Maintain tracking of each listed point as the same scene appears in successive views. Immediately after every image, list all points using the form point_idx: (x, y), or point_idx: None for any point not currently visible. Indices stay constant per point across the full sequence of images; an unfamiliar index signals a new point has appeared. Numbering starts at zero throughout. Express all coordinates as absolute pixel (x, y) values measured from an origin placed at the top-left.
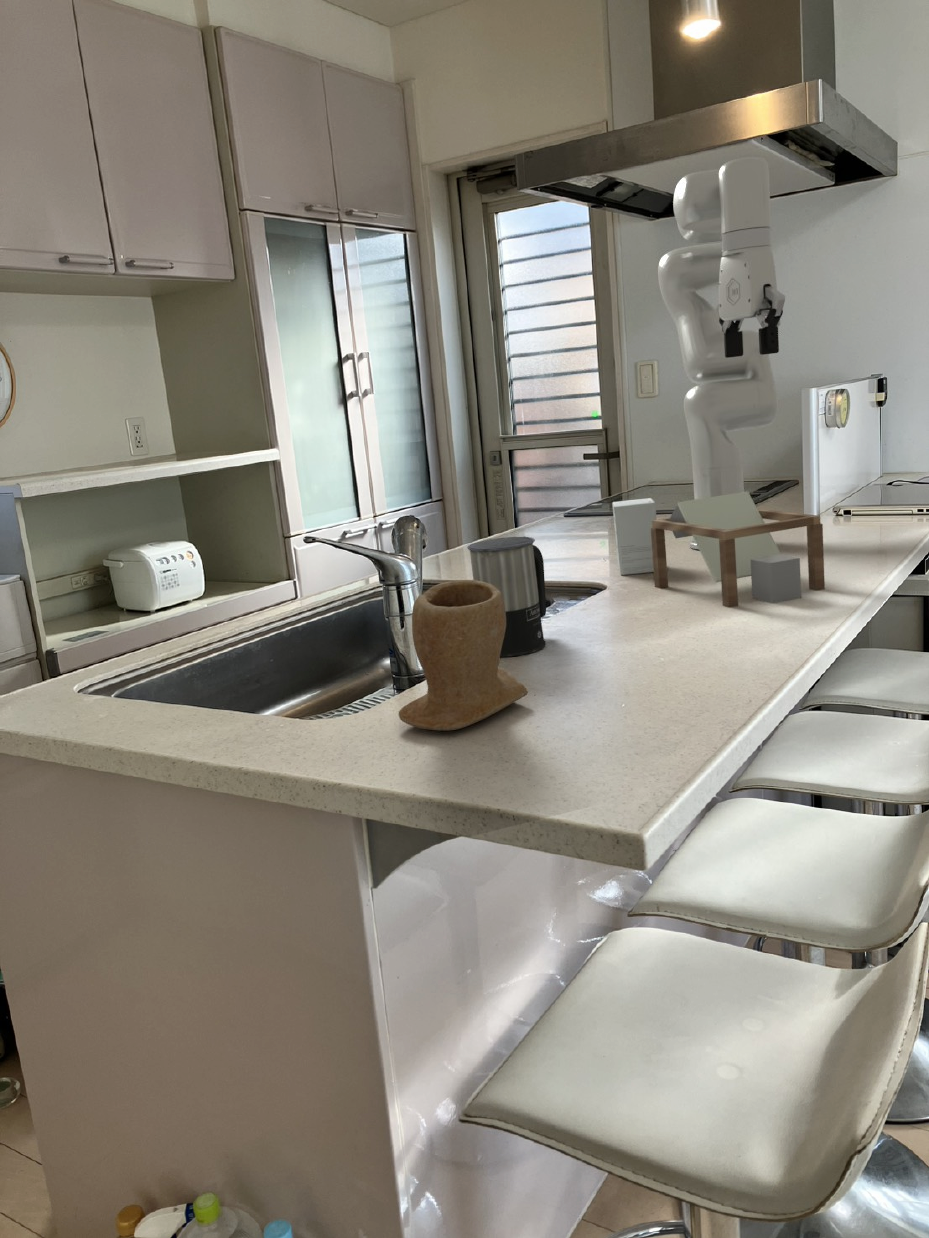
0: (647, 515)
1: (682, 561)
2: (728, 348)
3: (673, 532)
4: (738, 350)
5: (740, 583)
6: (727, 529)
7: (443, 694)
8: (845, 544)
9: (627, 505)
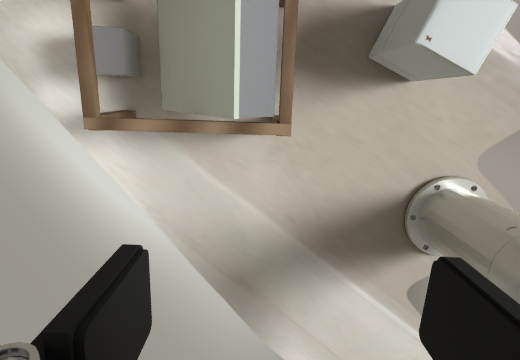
0: (411, 31)
1: (401, 119)
2: (460, 287)
3: None
4: (435, 331)
5: None
6: (196, 46)
7: None
8: (312, 293)
9: None
